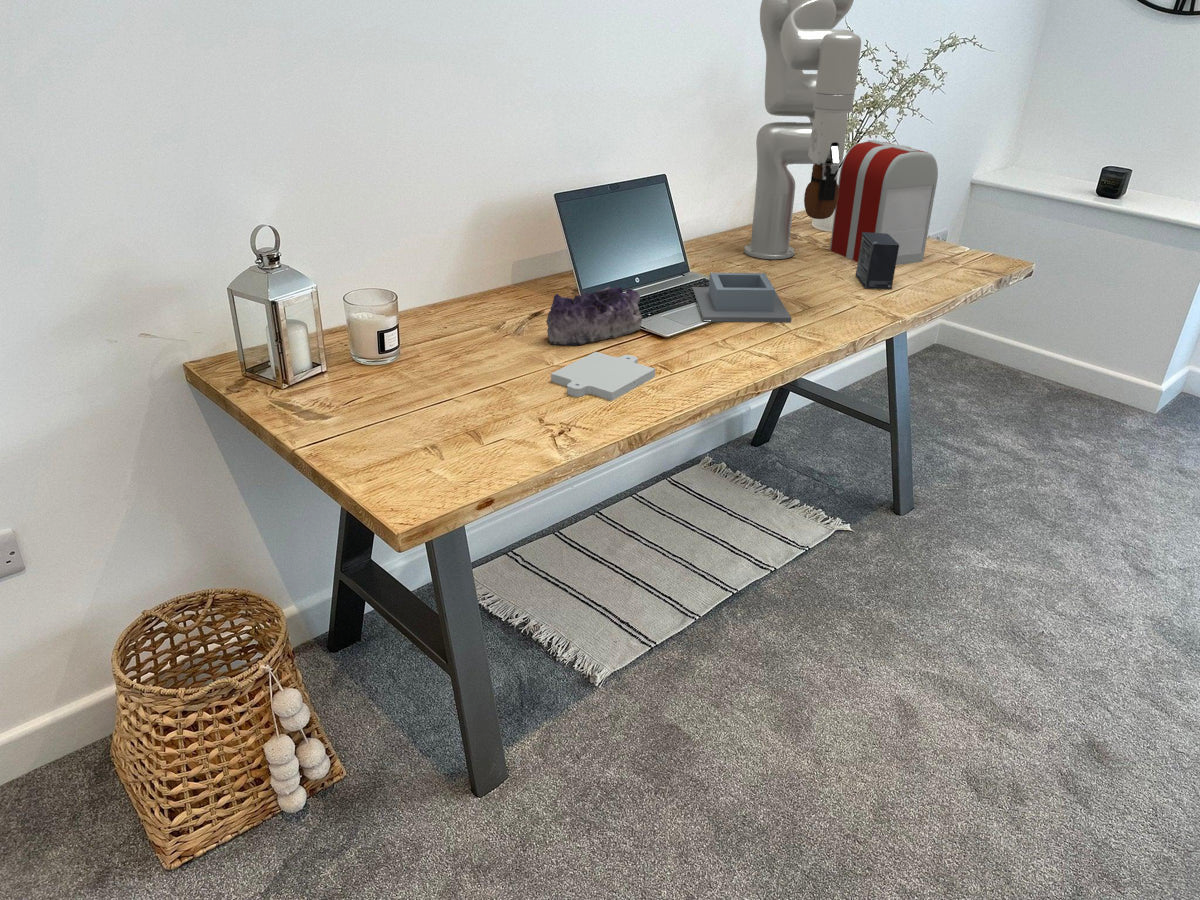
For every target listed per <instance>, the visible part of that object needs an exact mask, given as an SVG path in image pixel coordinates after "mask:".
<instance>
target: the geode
mask: <svg viewBox="0 0 1200 900" xmlns="http://www.w3.org/2000/svg"><path fill="white" fill-rule="evenodd" d="M640 300H641V295H640V293H639V292H638V291H637V290H634V289H631V288H628V289H626V291H625V292H623V288H622V287H616V288H611V287H610V286H609V287H606V288H604V289H598V290H596V291H594V292H592V293H590V292H589V293H588V292H586V293H582V294H581V295H575V296H574V297H573V298H572V297H565V296H563V297H562V296H560V295H559V294H558V293H556V294H555V295H554V296H553V300H552V304H551V306H550V310H549V312H548V314H547V317H546V321H545V323H546V325H547V330H546V332H547V336H548V341H547V343H548V344H549V345H551V346H557V347H561V346H562V347H564V346H565V347H577V346H581V345H585V344H588V343H589V344H590V343H594V342H597V341H603V340H608V339H609V340H610V339H611V338H613V339H616V338H618V337H623V336H624V335H628V334H632V333H633V332H637V331H640V330H641V325H642V322H643V316H642V312H640V307H639V303H640Z"/></svg>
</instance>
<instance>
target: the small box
mask: <svg viewBox="0 0 1200 900" xmlns="http://www.w3.org/2000/svg"><path fill="white" fill-rule="evenodd" d="M898 250H899V244H898V243H897V242H896V241H895V240H894V239H893V238H892V237H891V236H890V235H889V234H886V233H869V232H862V239H861V246H860V252H859V258H858V262H857V264H856V270H855V276H856V278H857V280H858V281H859V282H860V284H862V286H863V287H864V289H877V290H892V289H893V282H894V277H895V270H896V266H897V265H896V261H897V255H898Z"/></svg>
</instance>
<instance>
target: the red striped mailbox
mask: <svg viewBox="0 0 1200 900" xmlns="http://www.w3.org/2000/svg"><path fill="white" fill-rule="evenodd" d="M839 170H840V171H839V175H838V176H839V178H838V183H837V184H838V186H839V197H838V202H837V205H836V208H835V210H834V213H833V214H834V217H833V223H832V230H831V237H830V245H829V251H831V252H833V253H835V254H838V255H839V256H842V257H844V258H846V259H848V260H851V261H854V262H857V263H858V258H859V252H860V246H861V239H862V232H869V233H886V234H889V235H890V236H891V237H892V238H893V239H894V240H895V241H896V242H897V243H898V244H899V250H898V255H897V261H896V266H897V265H898V266H899V265H906V264H915V263H922V262H924V256H925V250H926V246H927V239H928V233H929V228H930V225H931V224H930V223H931V218H932V212H933V205H934V202H935V200H934V199H935V195H936V190H937V183H938V177H939V176H938V175H939V171H938V163H937V160H936V157H935V156H934V155H933V154H932V153H930V152H928V151H923V150H919V149H915V148H912V147H911V146H908V145H903V144H895V143H890V142H887V141H880V140H876V139H871V140H867V141H863V142H860V143H859V142H858V143H855V144H854V145H853V146H851V147H850V148H849V150H848V151H847V152H846V154H845V156H843V160H842V163H841V164H840V169H839Z"/></svg>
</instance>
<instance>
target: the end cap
mask: <svg viewBox="0 0 1200 900" xmlns="http://www.w3.org/2000/svg"><path fill="white" fill-rule="evenodd" d="M708 277H709V279H708V286H692V290H693V292H694V294H693V296H694V295H695V297H694V299H695V298H696V300H695V302H696V301H697V303H696V305H697V304H698V306H697V308H698V307H699V309H698V311H699V310H700V311H699V314H700V313H701V314H700V316H701V315H702V317H701V319H702V318H703V320H711V322H712V323H792V316H791V315H790V313H789V311H788V310H787V308H786V306H785V304H784V302H783V301H782V300H781V298H780V297H779V294H778V293H777V291H776V289H775V287H774V286H773V284H772V282H771V281H770V279H769V277H768V276H767V274H766V273H765V272H709V276H708ZM693 292H692V293H693ZM703 320H702V321H703Z"/></svg>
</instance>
